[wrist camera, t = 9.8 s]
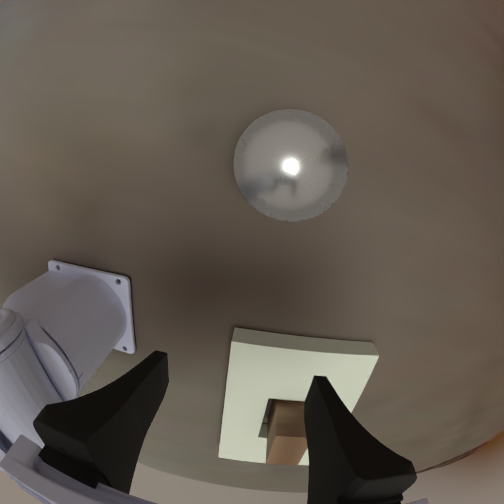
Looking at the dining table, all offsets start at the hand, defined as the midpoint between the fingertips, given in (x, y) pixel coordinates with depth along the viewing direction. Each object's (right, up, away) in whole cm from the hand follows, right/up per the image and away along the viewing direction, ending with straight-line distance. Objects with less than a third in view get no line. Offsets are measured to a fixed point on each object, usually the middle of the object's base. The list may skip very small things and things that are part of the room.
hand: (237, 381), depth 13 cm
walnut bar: (+4, -9, +12) cm, 16 cm away
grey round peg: (+3, +12, +6) cm, 14 cm away
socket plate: (+4, -9, +12) cm, 16 cm away
